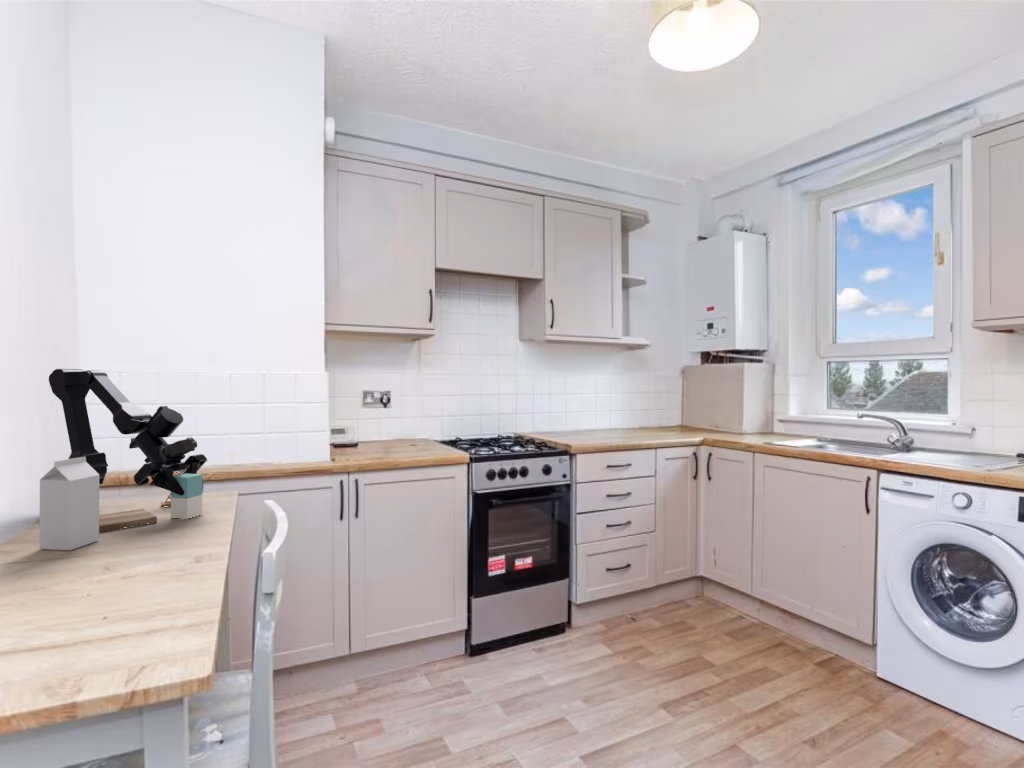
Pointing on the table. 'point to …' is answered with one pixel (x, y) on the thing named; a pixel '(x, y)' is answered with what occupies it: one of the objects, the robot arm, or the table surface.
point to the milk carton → (69, 505)
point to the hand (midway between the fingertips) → (191, 492)
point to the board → (125, 519)
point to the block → (187, 497)
